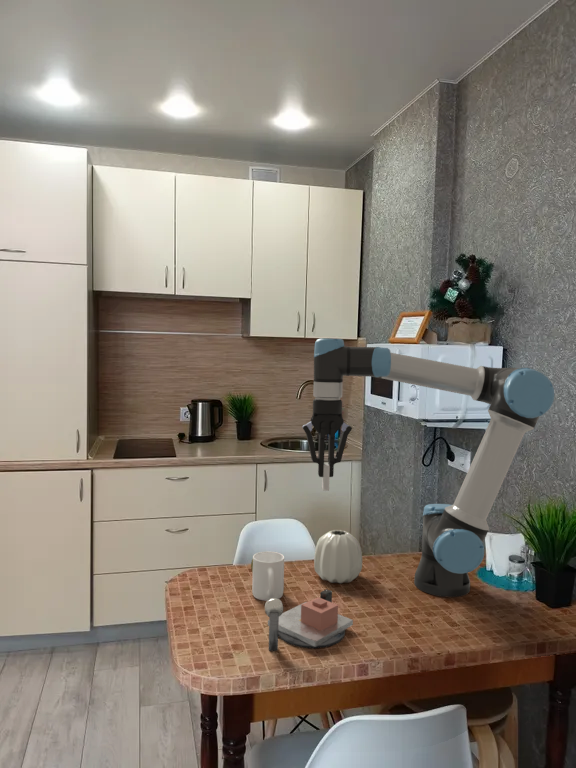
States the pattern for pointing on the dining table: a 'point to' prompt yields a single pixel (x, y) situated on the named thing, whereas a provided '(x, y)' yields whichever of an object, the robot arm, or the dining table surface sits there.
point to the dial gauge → (273, 621)
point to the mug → (268, 575)
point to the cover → (319, 613)
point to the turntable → (306, 633)
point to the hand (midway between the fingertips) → (325, 489)
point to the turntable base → (302, 644)
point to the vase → (338, 557)
